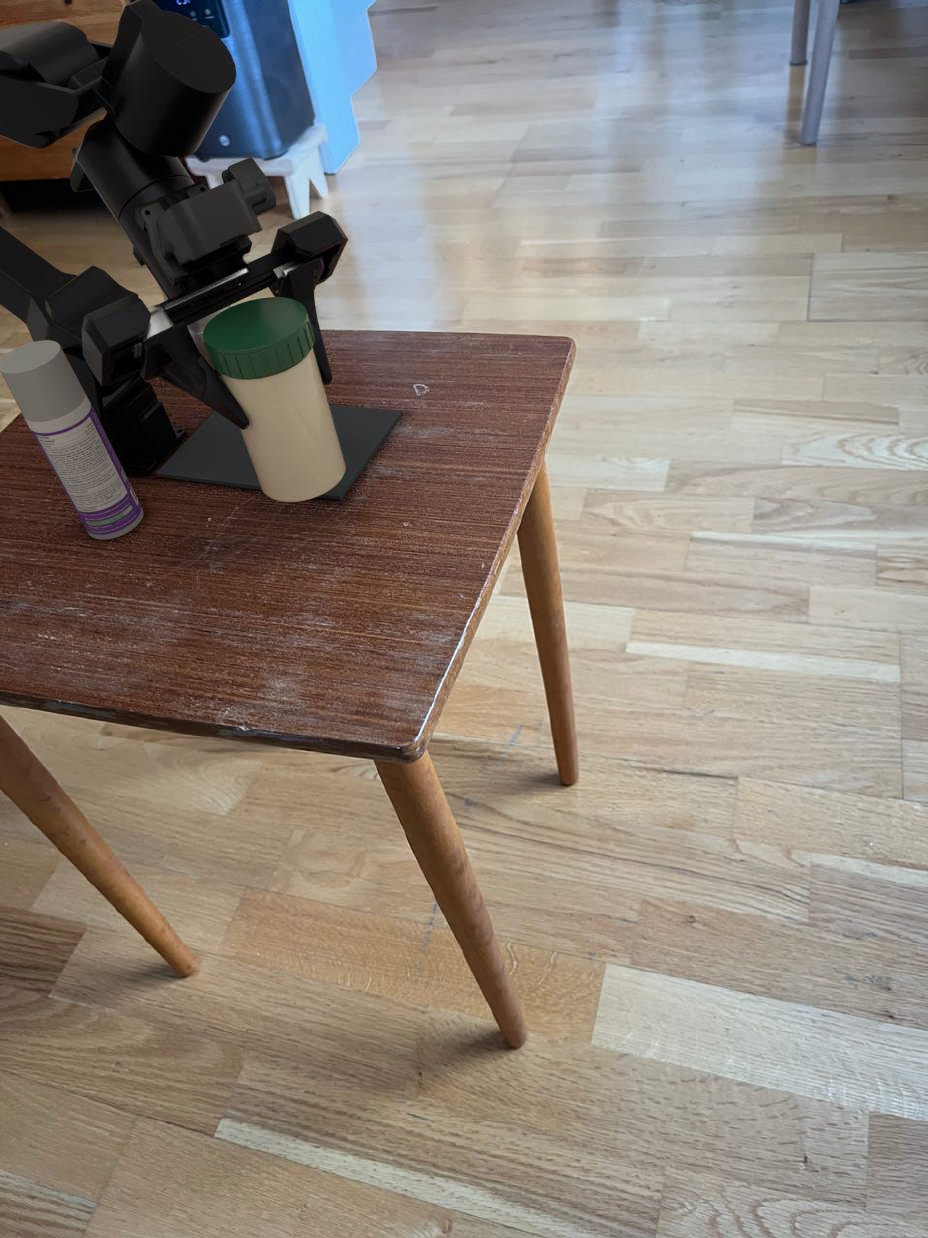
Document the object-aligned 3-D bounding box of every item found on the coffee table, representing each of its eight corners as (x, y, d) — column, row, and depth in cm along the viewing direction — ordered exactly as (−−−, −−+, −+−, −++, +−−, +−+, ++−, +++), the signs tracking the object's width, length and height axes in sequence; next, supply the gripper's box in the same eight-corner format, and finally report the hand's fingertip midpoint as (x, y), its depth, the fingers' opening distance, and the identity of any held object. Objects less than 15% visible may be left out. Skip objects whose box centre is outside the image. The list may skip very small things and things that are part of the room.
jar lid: (191, 374, 62) (180, 346, 61) (246, 320, 66) (237, 293, 65) (282, 383, 60) (273, 355, 58) (333, 327, 64) (326, 299, 62)
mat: (157, 476, 81) (155, 473, 81) (229, 399, 89) (228, 395, 89) (341, 500, 75) (340, 496, 75) (403, 414, 82) (402, 410, 82)
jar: (244, 495, 69) (188, 350, 61) (287, 444, 73) (240, 301, 65) (320, 507, 67) (273, 358, 59) (360, 454, 71) (322, 306, 63)
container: (97, 506, 80) (10, 343, 69) (150, 500, 79) (70, 335, 69) (79, 542, 76) (-15, 377, 66) (134, 536, 76) (48, 369, 65)
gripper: (16, 185, 53) (176, 426, 54) (296, 78, 60) (433, 293, 61) (30, 282, 63) (164, 483, 64) (267, 181, 70) (385, 363, 71)
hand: (288, 404), depth 65 cm, fingers closed on jar, 6 cm apart
